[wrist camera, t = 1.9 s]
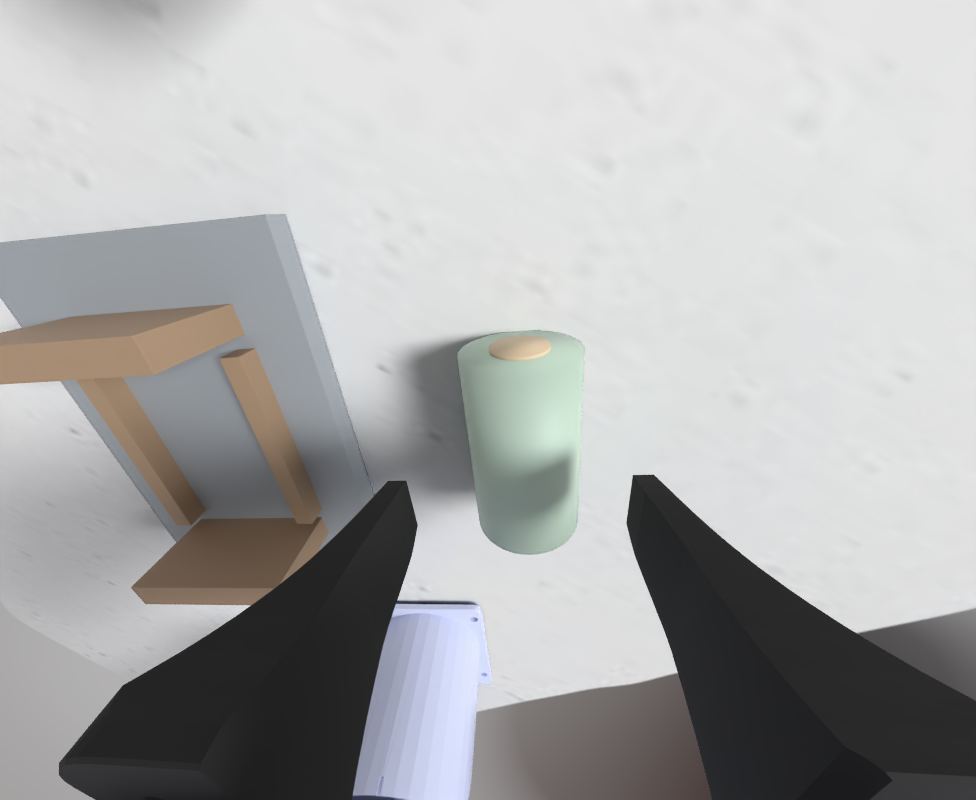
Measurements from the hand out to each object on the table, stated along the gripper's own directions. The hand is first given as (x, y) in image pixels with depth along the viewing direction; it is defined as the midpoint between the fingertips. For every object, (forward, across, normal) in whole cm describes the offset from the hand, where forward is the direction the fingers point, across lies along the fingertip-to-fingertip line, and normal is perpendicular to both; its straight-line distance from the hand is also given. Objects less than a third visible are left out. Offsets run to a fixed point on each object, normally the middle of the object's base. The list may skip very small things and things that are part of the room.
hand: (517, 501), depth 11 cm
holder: (+6, +14, 0) cm, 15 cm away
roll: (+6, 0, 0) cm, 6 cm away
